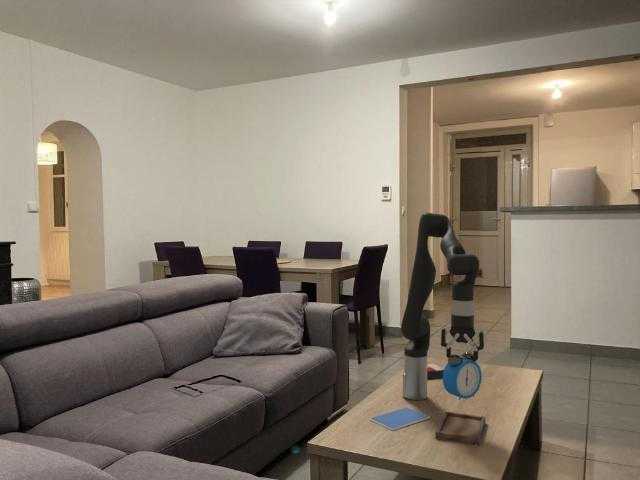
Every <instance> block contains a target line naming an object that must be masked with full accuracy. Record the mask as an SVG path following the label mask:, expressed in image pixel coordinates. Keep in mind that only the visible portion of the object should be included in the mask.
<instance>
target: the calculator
mask: <svg viewBox="0 0 640 480" xmlns="http://www.w3.org/2000/svg"><path fill="white" fill-rule="evenodd" d="M444 369H445V368H442V367H441V366H439V365H436V364H435V363H427V380H430V379H431V380H433V379H443V372H444Z"/></svg>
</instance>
